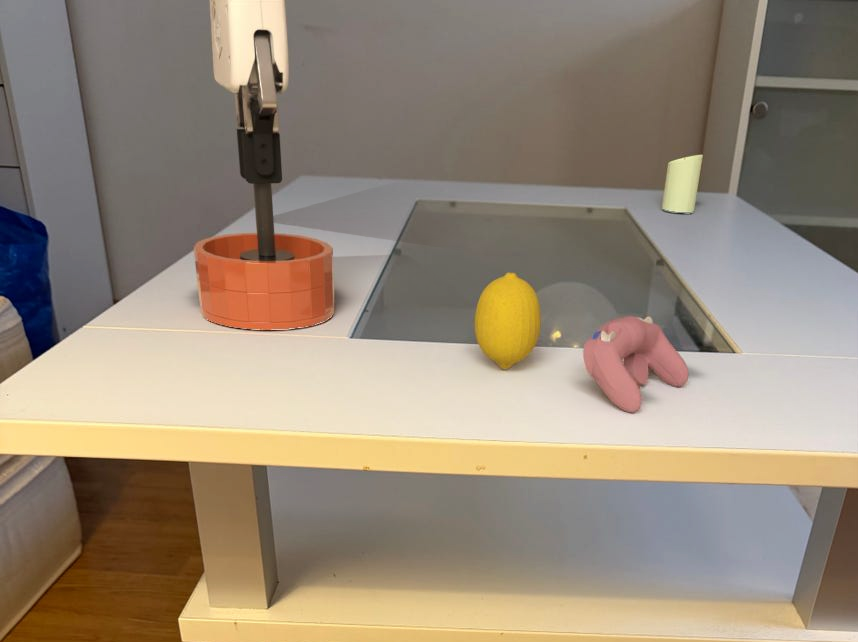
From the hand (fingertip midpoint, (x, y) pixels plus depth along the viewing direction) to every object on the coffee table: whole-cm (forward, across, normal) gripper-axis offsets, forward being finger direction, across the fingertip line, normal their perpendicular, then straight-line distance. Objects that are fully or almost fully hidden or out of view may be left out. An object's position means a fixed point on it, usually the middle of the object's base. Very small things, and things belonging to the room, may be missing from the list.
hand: (261, 179), depth 89 cm
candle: (+13, -44, +73) cm, 86 cm away
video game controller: (+12, +29, +24) cm, 40 cm away
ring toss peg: (+9, 0, 0) cm, 9 cm away
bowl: (+12, 0, 0) cm, 12 cm away
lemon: (+12, +21, +16) cm, 29 cm away
